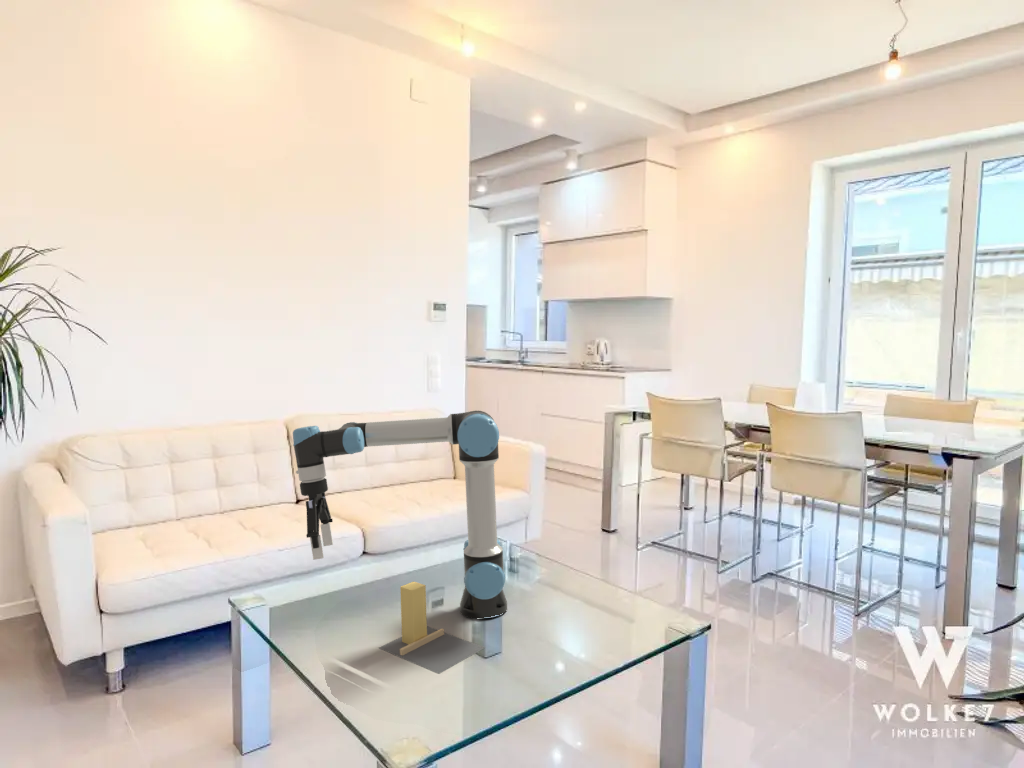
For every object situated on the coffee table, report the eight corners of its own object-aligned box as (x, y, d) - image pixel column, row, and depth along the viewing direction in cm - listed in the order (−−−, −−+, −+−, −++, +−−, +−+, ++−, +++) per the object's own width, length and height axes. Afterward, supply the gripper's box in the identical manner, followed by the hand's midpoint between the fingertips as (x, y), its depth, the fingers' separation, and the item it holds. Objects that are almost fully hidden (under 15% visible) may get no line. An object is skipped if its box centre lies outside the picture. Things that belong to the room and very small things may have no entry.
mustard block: (402, 641, 185) (400, 586, 184) (415, 635, 189) (413, 581, 188) (414, 646, 182) (412, 590, 181) (427, 640, 186) (425, 585, 185)
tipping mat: (378, 650, 182) (378, 642, 182) (425, 628, 196) (425, 620, 196) (439, 676, 167) (438, 668, 166) (485, 650, 181) (485, 642, 180)
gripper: (309, 474, 200) (319, 542, 201) (288, 490, 176) (299, 567, 176) (334, 470, 201) (344, 538, 202) (316, 485, 176) (327, 562, 177)
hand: (323, 551), depth 189 cm, fingers open, 13 cm apart
